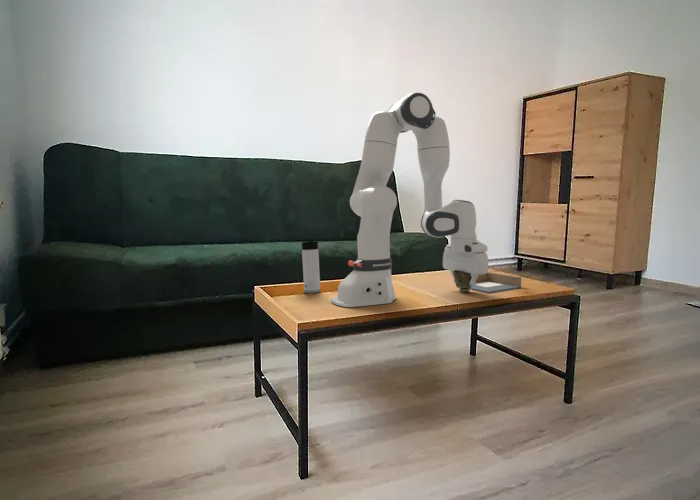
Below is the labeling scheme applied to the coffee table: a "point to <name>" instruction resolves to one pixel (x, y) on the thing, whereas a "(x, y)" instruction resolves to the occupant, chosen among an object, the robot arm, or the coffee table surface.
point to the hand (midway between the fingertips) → (464, 284)
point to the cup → (462, 281)
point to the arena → (496, 282)
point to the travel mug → (311, 267)
